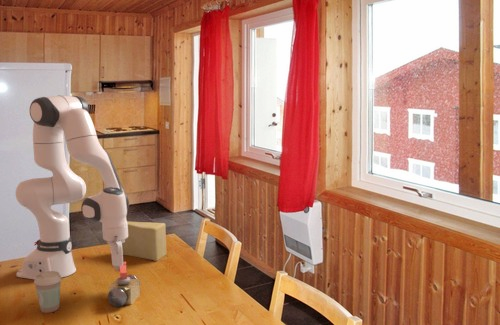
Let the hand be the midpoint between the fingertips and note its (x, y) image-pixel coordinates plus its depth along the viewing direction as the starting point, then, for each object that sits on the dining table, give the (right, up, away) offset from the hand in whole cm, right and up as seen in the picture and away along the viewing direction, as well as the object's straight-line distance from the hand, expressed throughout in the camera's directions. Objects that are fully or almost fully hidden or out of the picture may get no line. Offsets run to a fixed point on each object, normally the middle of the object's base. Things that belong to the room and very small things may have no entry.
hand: (117, 269), depth 181 cm
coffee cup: (-20, -11, -12) cm, 25 cm away
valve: (+4, -9, -5) cm, 11 cm away
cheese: (-1, -3, +40) cm, 40 cm away
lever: (+3, -2, -2) cm, 4 cm away
